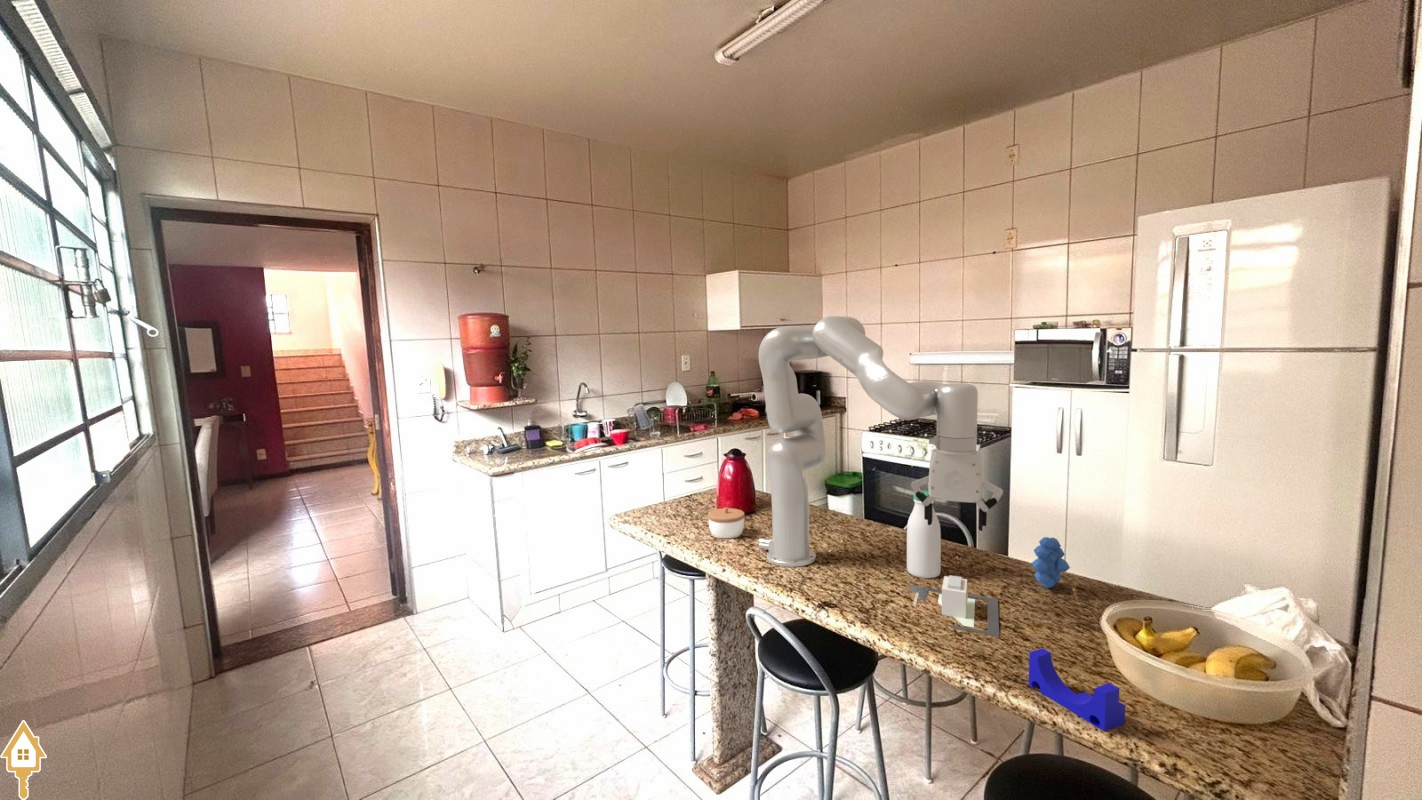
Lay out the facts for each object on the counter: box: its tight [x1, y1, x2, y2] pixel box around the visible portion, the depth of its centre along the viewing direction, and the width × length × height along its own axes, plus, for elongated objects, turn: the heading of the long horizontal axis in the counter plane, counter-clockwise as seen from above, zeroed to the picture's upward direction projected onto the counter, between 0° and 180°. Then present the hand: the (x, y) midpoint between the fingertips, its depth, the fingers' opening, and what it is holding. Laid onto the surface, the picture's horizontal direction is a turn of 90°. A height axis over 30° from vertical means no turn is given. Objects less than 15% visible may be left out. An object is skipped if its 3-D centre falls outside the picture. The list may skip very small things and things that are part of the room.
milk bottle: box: [906, 490, 942, 579], centre depth 136 cm, size 8×8×20 cm
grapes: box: [1031, 536, 1071, 589], centre depth 126 cm, size 12×7×12 cm, turn 126°
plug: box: [941, 575, 969, 619], centre depth 117 cm, size 5×7×6 cm
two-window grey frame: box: [879, 579, 1000, 638], centre depth 121 cm, size 32×17×1 cm, turn 64°
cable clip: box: [1028, 648, 1126, 733], centre depth 87 cm, size 12×4×6 cm, turn 22°
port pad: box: [937, 593, 976, 629], centre depth 118 cm, size 7×13×1 cm, turn 154°
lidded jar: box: [707, 507, 745, 539], centre depth 166 cm, size 11×11×9 cm
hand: (954, 525), depth 116 cm, fingers open, 9 cm apart
